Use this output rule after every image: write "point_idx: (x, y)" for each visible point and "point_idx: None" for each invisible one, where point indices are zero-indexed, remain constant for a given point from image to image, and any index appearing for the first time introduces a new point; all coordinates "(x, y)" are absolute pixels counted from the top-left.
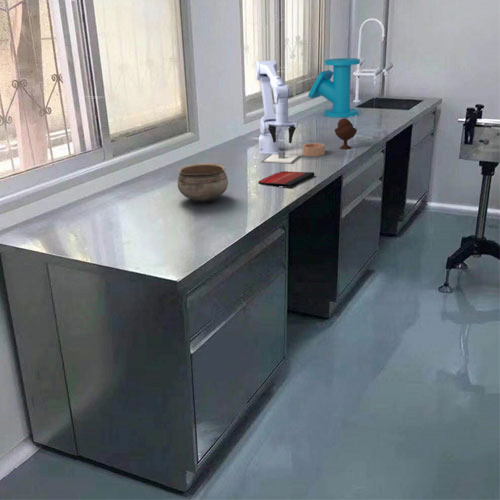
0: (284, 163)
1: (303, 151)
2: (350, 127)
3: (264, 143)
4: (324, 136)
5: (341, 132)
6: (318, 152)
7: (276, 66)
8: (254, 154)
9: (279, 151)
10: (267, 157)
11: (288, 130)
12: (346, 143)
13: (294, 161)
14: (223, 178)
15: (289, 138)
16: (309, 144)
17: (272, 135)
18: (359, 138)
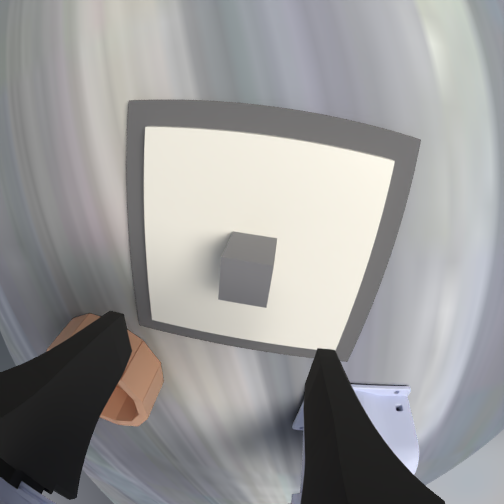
0: (199, 105)
1: (142, 367)
2: None
3: (387, 436)
4: (189, 491)
5: None
6: (63, 331)
7: None
8: (433, 370)
9: (266, 290)
10: (371, 298)
11: (6, 415)
12: None
13: (138, 181)
14: None
15: (83, 342)
16: (131, 418)
17: (355, 424)
18: (101, 459)
